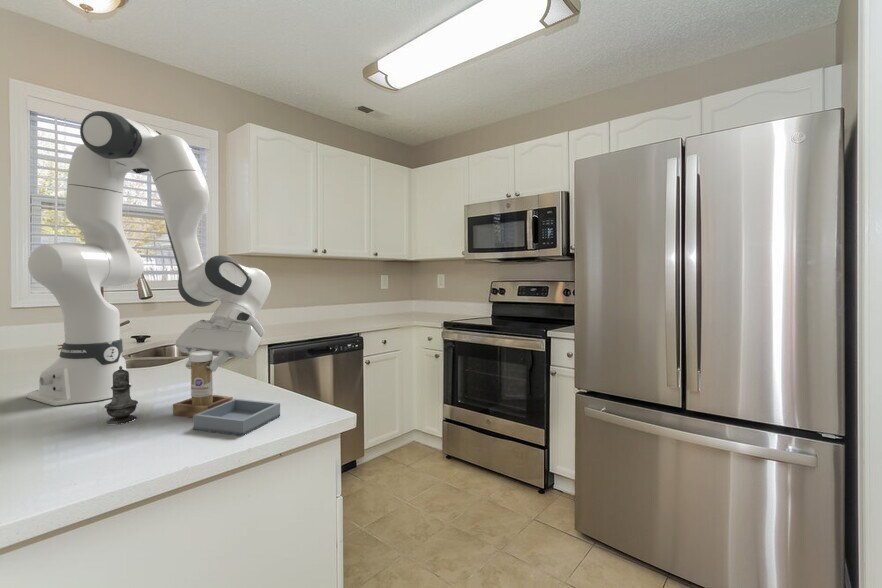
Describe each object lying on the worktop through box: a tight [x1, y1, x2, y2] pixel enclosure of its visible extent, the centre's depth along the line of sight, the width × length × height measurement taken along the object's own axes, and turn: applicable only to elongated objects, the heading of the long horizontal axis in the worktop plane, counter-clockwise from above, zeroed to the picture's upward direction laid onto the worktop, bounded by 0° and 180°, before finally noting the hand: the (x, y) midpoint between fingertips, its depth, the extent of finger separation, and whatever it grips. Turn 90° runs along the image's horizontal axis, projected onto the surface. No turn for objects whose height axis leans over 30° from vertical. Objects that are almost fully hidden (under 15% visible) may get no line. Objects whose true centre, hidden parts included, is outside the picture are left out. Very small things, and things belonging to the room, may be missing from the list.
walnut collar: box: [172, 394, 234, 419], centre depth 99 cm, size 9×9×2 cm
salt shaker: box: [103, 366, 139, 425], centre depth 92 cm, size 6×6×12 cm
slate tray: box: [193, 398, 281, 436], centre depth 92 cm, size 12×12×3 cm
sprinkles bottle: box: [190, 351, 214, 406], centre depth 99 cm, size 5×5×14 cm
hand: (199, 368), depth 98 cm, fingers closed on sprinkles bottle, 4 cm apart
